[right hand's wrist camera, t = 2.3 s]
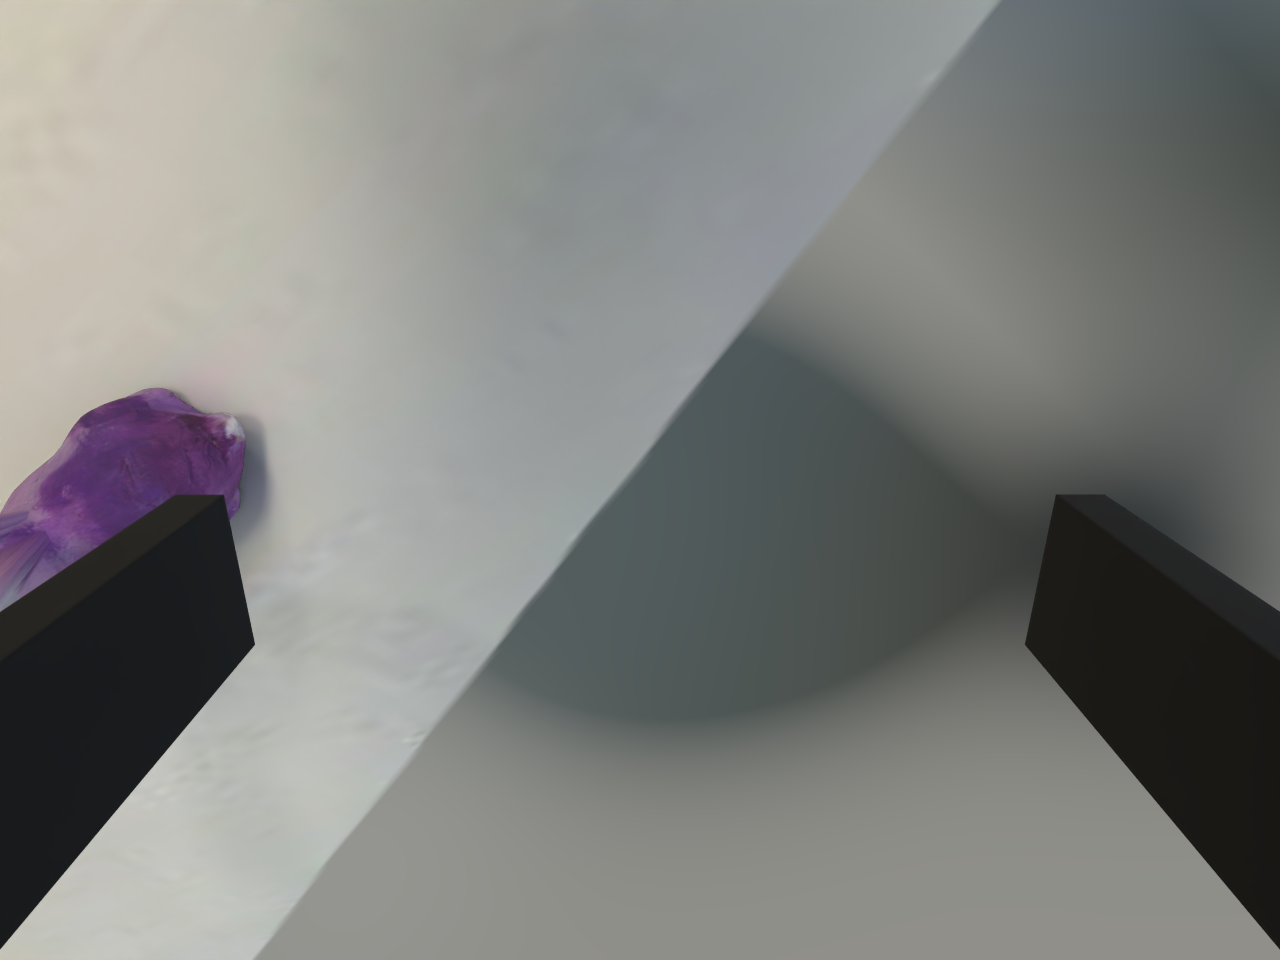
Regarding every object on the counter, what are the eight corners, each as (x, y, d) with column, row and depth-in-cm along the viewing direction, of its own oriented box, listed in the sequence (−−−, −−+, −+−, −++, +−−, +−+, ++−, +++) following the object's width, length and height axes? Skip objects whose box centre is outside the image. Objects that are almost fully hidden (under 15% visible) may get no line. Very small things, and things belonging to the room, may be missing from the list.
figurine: (80, 541, 43) (-191, 714, 29) (75, 364, 39) (-236, 464, 25) (252, 575, 44) (70, 760, 30) (263, 405, 40) (62, 524, 26)
